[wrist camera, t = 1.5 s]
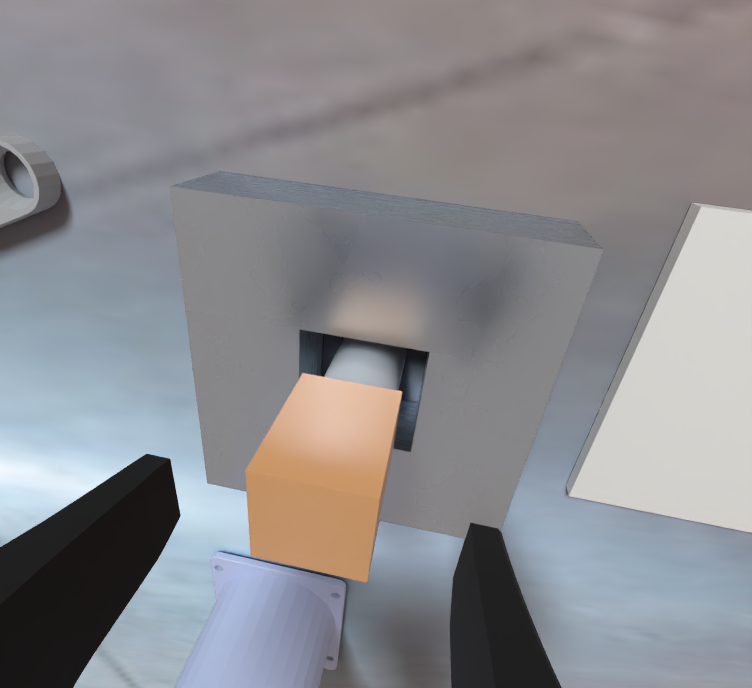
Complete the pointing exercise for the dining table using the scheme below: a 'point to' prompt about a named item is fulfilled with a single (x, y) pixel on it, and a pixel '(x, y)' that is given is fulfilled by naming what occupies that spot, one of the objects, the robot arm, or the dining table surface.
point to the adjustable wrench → (10, 205)
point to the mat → (684, 386)
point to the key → (328, 464)
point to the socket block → (381, 326)
